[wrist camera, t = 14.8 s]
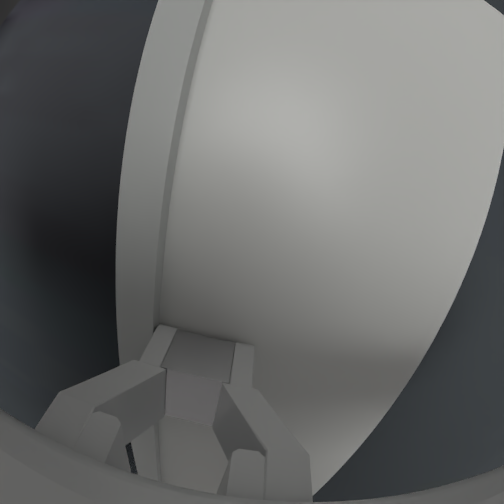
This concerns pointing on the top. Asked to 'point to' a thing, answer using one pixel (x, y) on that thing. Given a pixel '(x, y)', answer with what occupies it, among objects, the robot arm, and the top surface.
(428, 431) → the top surface
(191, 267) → the panel
